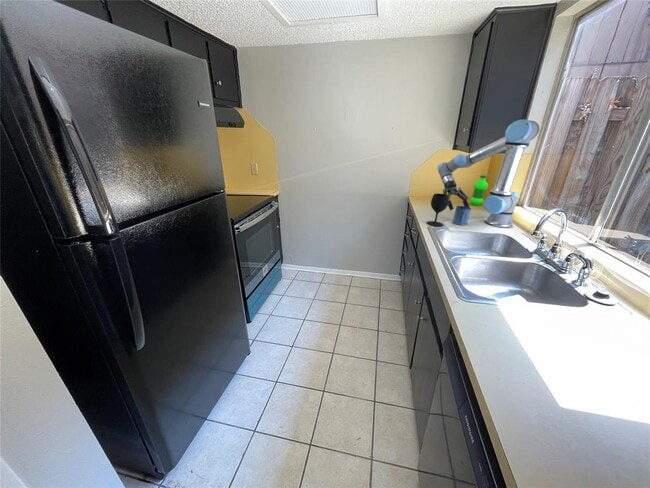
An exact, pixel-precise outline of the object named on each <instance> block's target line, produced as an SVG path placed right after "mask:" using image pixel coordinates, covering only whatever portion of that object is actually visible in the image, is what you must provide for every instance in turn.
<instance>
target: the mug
mask: <svg viewBox="0 0 650 488" xmlns="http://www.w3.org/2000/svg"><path fill="white" fill-rule="evenodd" d="M471 211H472V208H471V207H470V206H469V207H466V206H464V205H456V206H455V210H454V215H453V218H452V223H453V224H455V225H459V226H467V225H468V223H469V218H470V215H471Z"/></svg>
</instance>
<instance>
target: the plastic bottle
mask: <svg viewBox="0 0 650 488" xmlns="http://www.w3.org/2000/svg"><path fill="white" fill-rule="evenodd" d="M479 178H480V179H479V180H477V181H475V182H474V183H473V188H474V189H473V194H472V197H471V198H470V200H469V202H470V203H471V204H472V205H473V206H476V207H477V206H480V205H482V204H484V196H485V192H486V190H487V189H488V188H489V184H488V182H487V181H486V178H487V175H483V174H481V175H480V176H479Z"/></svg>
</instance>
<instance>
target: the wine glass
mask: <svg viewBox="0 0 650 488" xmlns="http://www.w3.org/2000/svg"><path fill="white" fill-rule="evenodd" d="M449 200H450V199H449V197H448V195H446V194H443V193H434V194H433V195H432V197H431V200H430V205H431V206H430V208H431V209H432V210H433V211H434V212H435V218H434V220H429V221H426V225H428V226H430V227H435V228H440V227H443V226H444V224H443V223H442V222H439V221H437V220H438V216H439V214H440V213H442V212H444V211H445V210H446V209H447V207H448V201H449Z"/></svg>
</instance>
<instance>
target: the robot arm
mask: <svg viewBox="0 0 650 488" xmlns="http://www.w3.org/2000/svg"><path fill="white" fill-rule="evenodd" d="M539 133H540V124H539V123H538V122H537V121H535V120H531V119H530V120H529V119H518V120H515V121H513V122H512V123H510V124H509V125H508V126H507V128H506V129H505V132H504V137H501V138H499V139H497V140H495V141H493V142H491V143H489V144H488V145H485V146H483V147H481V148H479V149H477V150H475V151H473V152H471V153H469V154H468V155H465V154H463V153H459V154H457V155H455V156H454V157H453V158H452V159H451V160H449V161H448V162H446V161H445V162H442V163H439V164H438V165H437V168H436V169H437V172H438V174H439V177H440V180H441V182H442V184H443V187H444V189H442V191H443V192H442V194H446V195H448V197H449V201H448V205H447V207H448V208H449V211H452V210H454V209H455V207H454V205H453V203H452V200H451V199H450V198H451V196H454V195H455V196H457V197H458V198H459V199H460V200H462V203H463V206H466V207H470V204H469V201H468V199H469V196H468V195H467V194H466V193H465V192H464V190H463V189H462V188H461V187H457V182H456V180H455V178H454V175H453V172H455V171H457V170H458V169H463V168H470V167H472V166H473V165H474V164H477V163H479V162H481V161H483V160H486V159H487V158H488V159H489V158H490V157H492V156H494V155H496V154H498V153H502V152H503V151H505V152H504V155H503V159H502V161H501V165H500V168H499V171H498V175H497V178H496V179H495V184H494V187H493V188H492V189H490V190H489V194H488V196H487V197H486V198H485V199H484V200H483V208H484V210H485V211H486V212H487V213H489V215H488V216H487V218H486V221H485V222H486V224H488V225H490V226H492V227H497V228H504V229H509V228H512V227H513V223H514V222H513V215H514V211H515V208H516V206H517V201H518V200H519V196H520V194H519V192H516V191H512V190H511V189H512V186H513V183H514V180H515V177H516V174H517V171H518V169H519V165H520V163H521V159H522V157H523V154H524V151H525V149H527V148H528V147H529V146H530V143H531V141H532V140H534V139H535V138H536V137H537V136H538V135H539Z"/></svg>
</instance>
